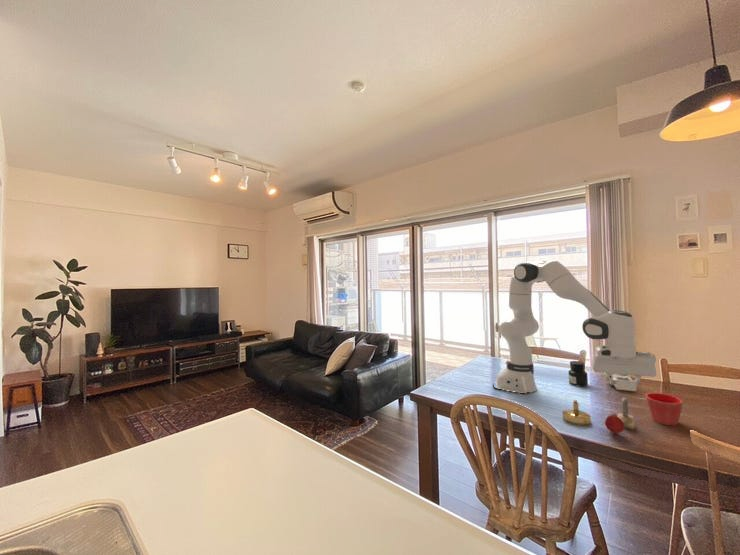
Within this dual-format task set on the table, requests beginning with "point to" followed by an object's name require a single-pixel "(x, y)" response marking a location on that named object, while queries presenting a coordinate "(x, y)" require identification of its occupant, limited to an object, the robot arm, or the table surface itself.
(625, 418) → the stand
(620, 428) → the red rounded piece
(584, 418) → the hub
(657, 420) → the flower pot
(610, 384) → the toy pig
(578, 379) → the ink bottle
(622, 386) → the white flat block
